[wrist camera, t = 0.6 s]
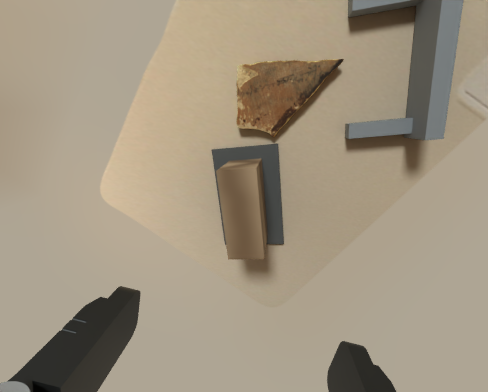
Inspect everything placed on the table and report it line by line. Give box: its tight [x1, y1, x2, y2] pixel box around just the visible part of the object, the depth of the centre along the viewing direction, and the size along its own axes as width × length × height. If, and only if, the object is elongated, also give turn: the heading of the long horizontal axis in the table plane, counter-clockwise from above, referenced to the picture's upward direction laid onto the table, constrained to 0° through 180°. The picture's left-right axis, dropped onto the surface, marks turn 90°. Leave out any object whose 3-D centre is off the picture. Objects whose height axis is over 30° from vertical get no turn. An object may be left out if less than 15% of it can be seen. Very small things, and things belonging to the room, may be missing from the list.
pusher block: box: [216, 158, 268, 259], centre depth 27 cm, size 4×10×6 cm, turn 6°
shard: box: [236, 59, 344, 137], centre depth 26 cm, size 11×8×2 cm
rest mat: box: [212, 144, 284, 245], centre depth 30 cm, size 8×13×1 cm, turn 6°
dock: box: [345, 0, 463, 140], centre depth 22 cm, size 8×14×4 cm, turn 6°
